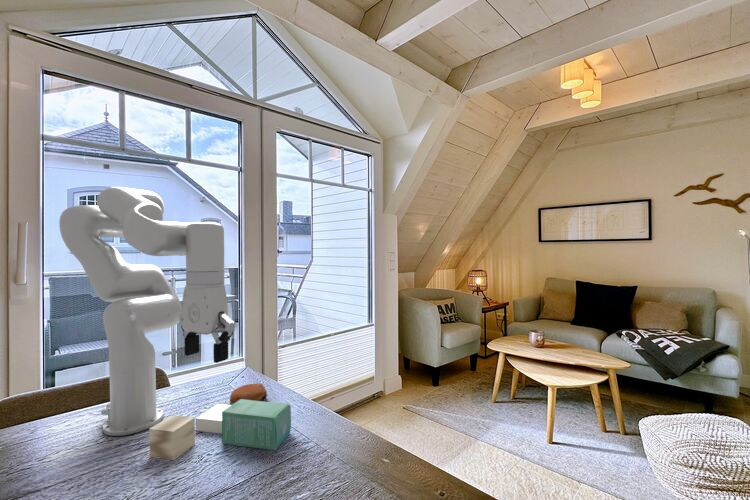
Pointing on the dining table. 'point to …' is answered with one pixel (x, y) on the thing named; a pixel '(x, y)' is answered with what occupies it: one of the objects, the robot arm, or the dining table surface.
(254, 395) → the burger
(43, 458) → the dining table surface
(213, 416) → the white slab
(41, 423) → the dining table surface
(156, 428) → the maple block
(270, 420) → the box
